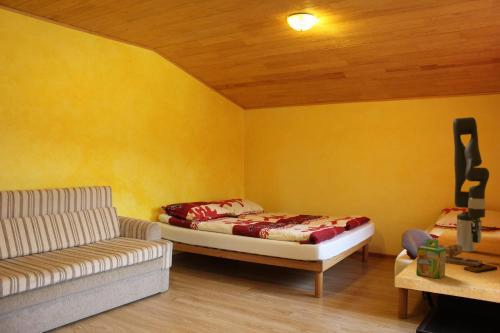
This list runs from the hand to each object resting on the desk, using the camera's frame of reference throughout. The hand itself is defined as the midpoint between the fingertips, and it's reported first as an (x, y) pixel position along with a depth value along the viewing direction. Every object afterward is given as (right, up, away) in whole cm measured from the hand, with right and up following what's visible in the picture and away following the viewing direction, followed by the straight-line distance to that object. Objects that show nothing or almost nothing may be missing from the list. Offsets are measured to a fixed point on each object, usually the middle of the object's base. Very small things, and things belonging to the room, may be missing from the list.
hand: (476, 241), depth 212 cm
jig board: (-14, -9, -6) cm, 17 cm away
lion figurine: (-16, -8, -3) cm, 19 cm away
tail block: (0, 0, 0) cm, 0 cm away
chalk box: (-38, -8, -36) cm, 53 cm away
